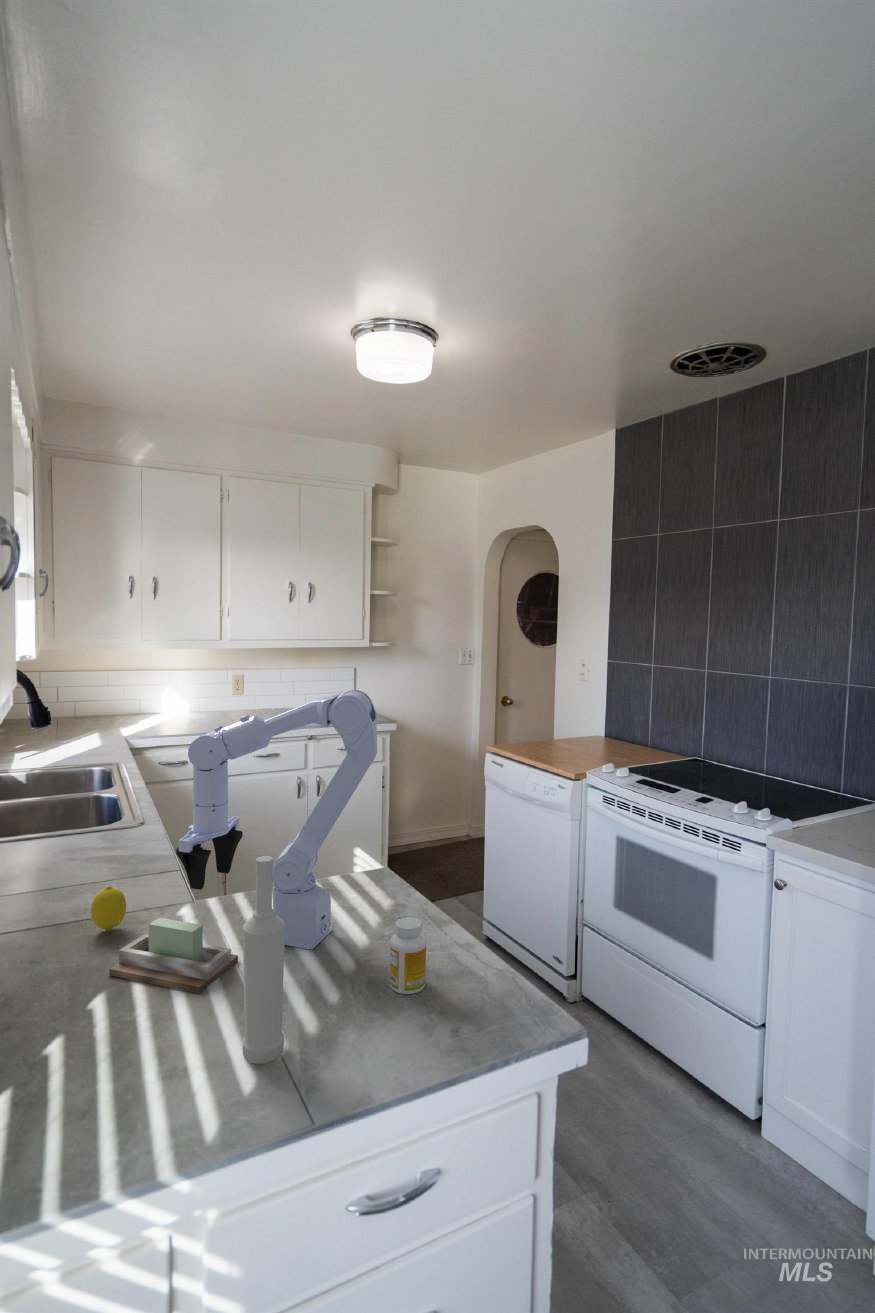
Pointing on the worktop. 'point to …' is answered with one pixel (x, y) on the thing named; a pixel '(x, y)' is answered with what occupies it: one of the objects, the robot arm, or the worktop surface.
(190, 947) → the pale green rectangular block
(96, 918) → the lemon
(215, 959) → the track base
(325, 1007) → the worktop surface
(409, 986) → the supplement bottle
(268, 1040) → the bottle
